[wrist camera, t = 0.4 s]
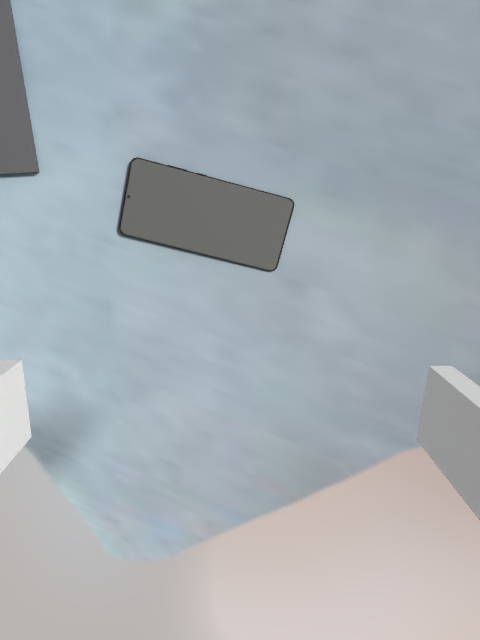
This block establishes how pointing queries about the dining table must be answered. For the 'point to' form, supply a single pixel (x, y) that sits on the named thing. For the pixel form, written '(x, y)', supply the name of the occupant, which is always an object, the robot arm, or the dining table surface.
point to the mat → (13, 103)
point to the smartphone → (204, 215)
